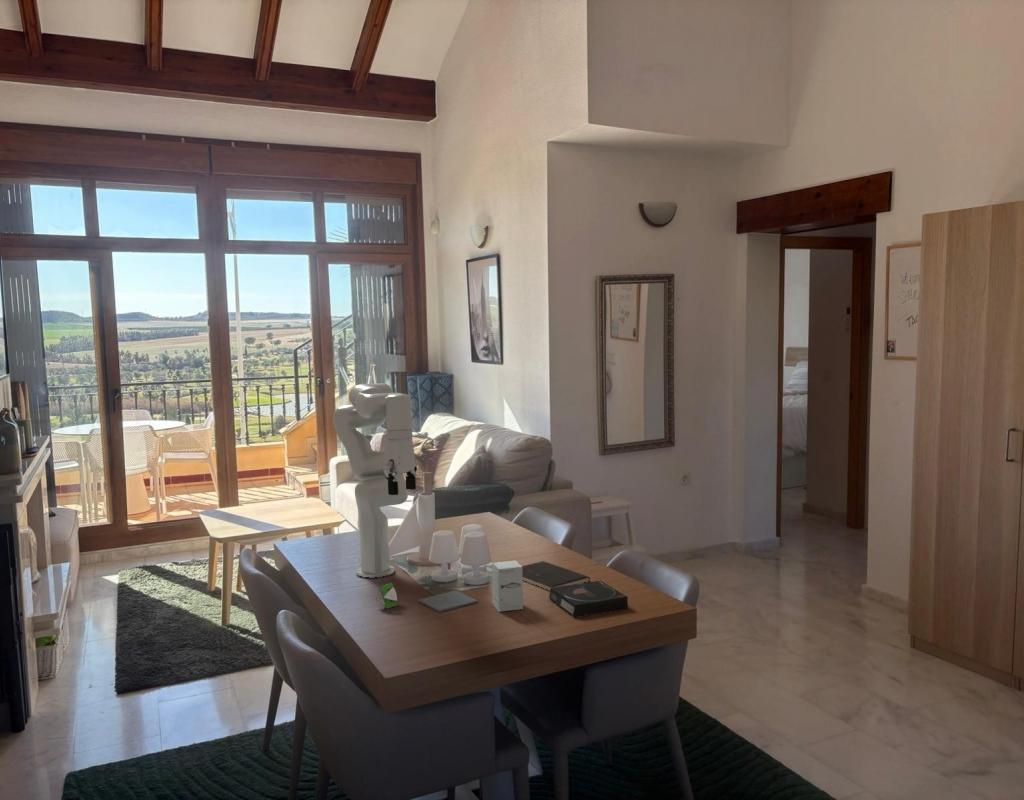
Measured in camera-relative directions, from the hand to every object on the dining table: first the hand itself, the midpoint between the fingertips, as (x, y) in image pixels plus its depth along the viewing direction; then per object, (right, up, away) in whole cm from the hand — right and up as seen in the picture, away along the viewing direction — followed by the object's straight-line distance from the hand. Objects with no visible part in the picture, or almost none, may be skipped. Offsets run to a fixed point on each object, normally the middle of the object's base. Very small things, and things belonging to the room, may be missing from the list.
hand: (402, 491), depth 240 cm
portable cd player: (+55, -32, -9) cm, 64 cm away
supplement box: (+32, -32, -10) cm, 46 cm away
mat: (+14, -32, -5) cm, 35 cm away
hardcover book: (+44, -30, +16) cm, 56 cm away
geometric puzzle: (-3, -33, -7) cm, 34 cm away
